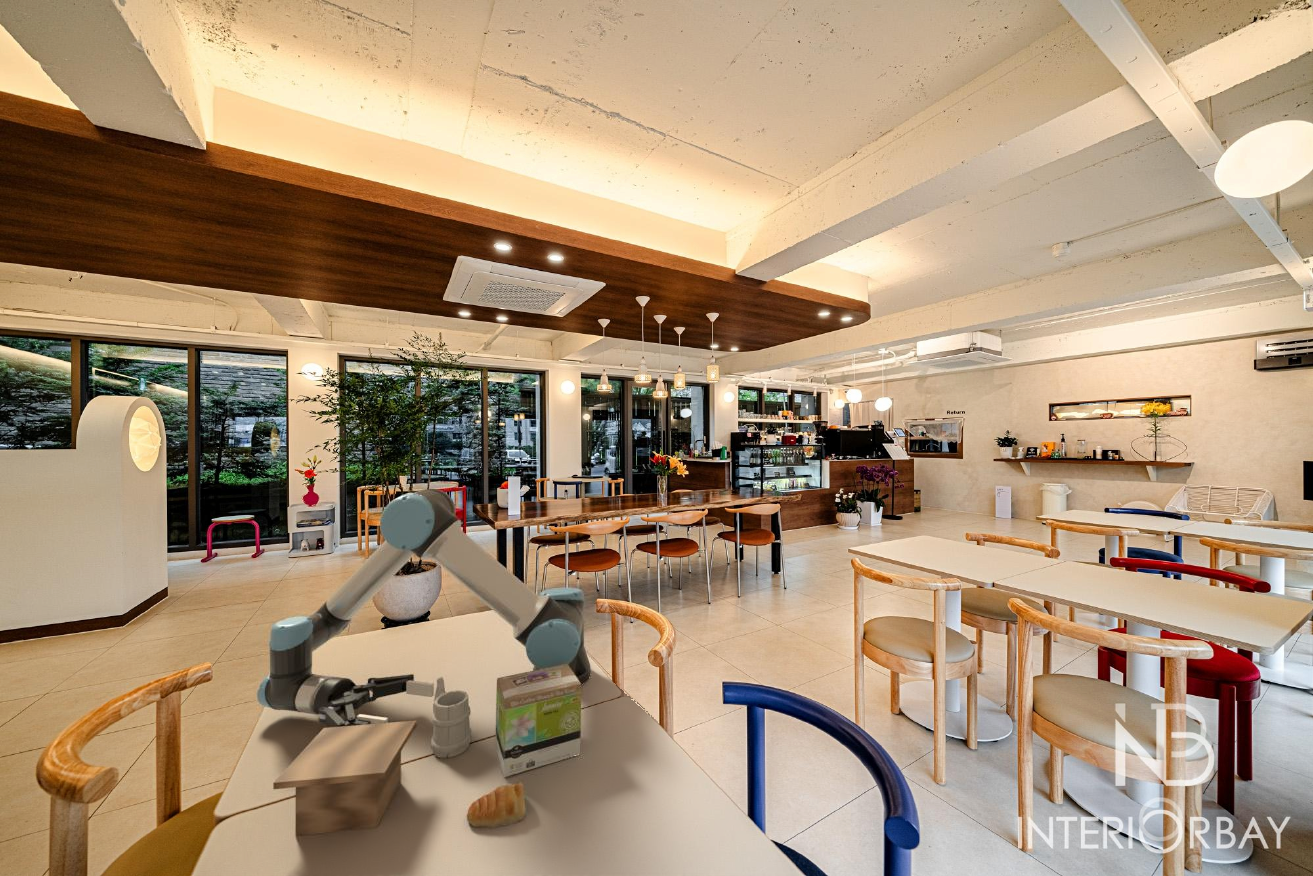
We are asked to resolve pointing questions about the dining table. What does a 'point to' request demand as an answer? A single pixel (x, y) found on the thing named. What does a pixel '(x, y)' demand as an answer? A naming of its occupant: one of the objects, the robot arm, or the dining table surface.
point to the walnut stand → (346, 776)
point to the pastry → (498, 807)
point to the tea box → (537, 718)
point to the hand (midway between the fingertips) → (411, 706)
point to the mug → (450, 722)
